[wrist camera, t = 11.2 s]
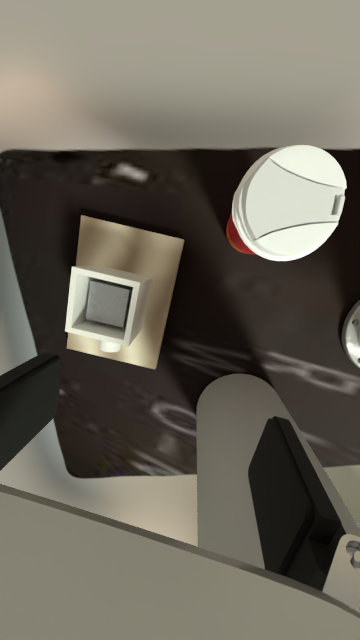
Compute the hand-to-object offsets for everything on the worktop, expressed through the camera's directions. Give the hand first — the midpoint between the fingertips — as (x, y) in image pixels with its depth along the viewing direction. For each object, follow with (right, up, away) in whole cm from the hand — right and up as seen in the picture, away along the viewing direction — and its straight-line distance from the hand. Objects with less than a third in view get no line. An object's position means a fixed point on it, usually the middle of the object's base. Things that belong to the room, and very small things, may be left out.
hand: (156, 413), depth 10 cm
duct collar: (-7, +6, +21) cm, 23 cm away
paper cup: (+10, +15, +19) cm, 26 cm away
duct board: (-7, +7, +22) cm, 24 cm away
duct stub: (-7, +7, +21) cm, 23 cm away
